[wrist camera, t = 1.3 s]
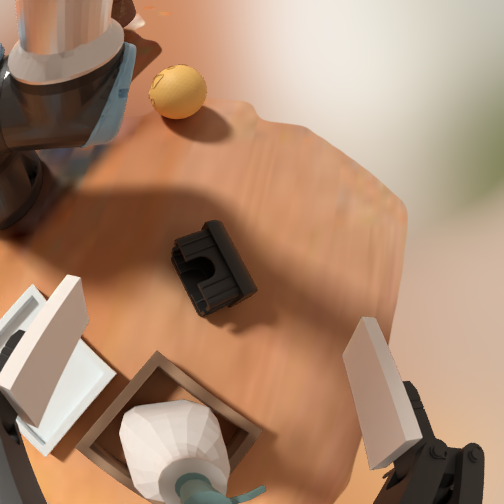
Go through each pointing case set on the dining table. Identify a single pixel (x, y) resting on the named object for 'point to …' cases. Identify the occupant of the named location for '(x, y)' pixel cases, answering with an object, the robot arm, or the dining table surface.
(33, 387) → the robot arm
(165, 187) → the dining table surface
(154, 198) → the dining table surface
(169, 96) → the stress ball
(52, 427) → the tray
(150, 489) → the soap bottle
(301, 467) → the dining table surface
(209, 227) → the end cap
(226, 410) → the walnut holder
